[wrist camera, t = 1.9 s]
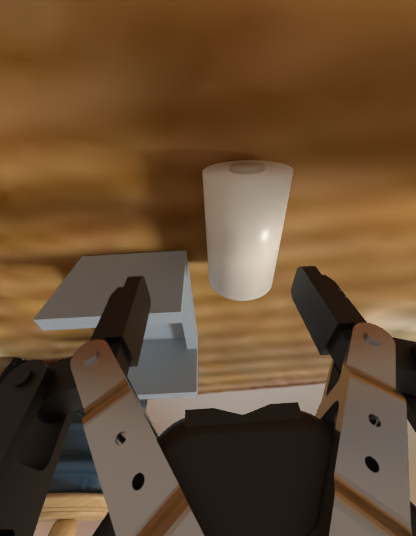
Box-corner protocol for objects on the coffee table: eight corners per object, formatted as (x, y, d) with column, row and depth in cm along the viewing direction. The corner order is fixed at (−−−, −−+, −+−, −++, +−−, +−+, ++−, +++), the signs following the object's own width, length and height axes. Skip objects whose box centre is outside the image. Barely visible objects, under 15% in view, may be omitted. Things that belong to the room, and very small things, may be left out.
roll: (184, 167, 14) (250, 185, 10) (244, 153, 16) (313, 164, 13) (196, 277, 19) (240, 313, 16) (239, 254, 22) (285, 280, 18)
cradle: (186, 250, 20) (180, 311, 14) (197, 336, 29) (197, 396, 23) (82, 256, 20) (32, 320, 14) (125, 340, 29) (105, 401, 23)
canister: (168, 377, 36) (148, 550, 22) (119, 398, 40) (77, 551, 27) (103, 345, 29) (17, 561, 15) (53, 373, 34) (-48, 561, 20)
